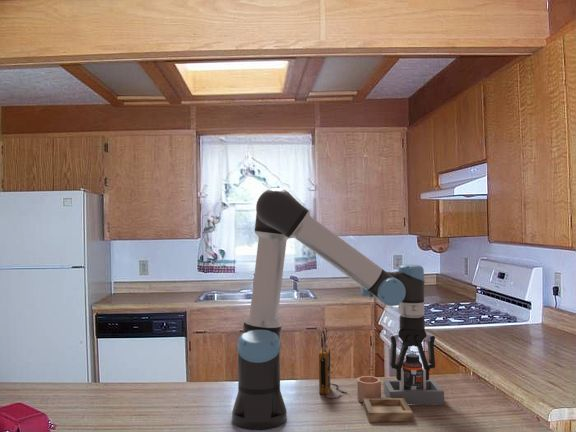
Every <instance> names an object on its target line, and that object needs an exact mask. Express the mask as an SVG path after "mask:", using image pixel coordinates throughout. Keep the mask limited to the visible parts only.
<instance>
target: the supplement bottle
mask: <svg viewBox="0 0 576 432" xmlns="http://www.w3.org/2000/svg"><path fill="white" fill-rule="evenodd" d="M422 368H423V364H422V361H420V354H417V353H406V355H405V360H404V362H403V365H402V369H403V371H404V390H422V387H423V386H422Z"/></svg>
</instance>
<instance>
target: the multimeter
mask: <svg viewBox="0 0 576 432" xmlns="http://www.w3.org/2000/svg"><path fill="white" fill-rule="evenodd" d="M324 329H325V330H324ZM327 333H328V330H327V328H326V327H322V331H321V334H320V338H321V339H320V341H321V343H320V345H322V346H321V349H320V351H319V352H318V384H319V385H318V387H319V388H318V392H319V395H320V394H321V395H324V398H326V399H329V400H334V399H338V398H340V397H342V396H344V395H345V394H346V393H347V394H349V395H351V393H350V392H348V391H346V390H343V389H339V385H337V384H335V383H331V348H330V347H327V346H328V345H327V344H326V343H327V338H326V337H327V335H328V334H327ZM331 385H333V386H336V388H335V389H336V390H337V391H339V392H341V393H343V394H339V395H336V396H334V397H331V398H329V397H327V396H326V395H329V391H330V389H331ZM337 397H338V398H337ZM333 398H334V399H333Z"/></svg>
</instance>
